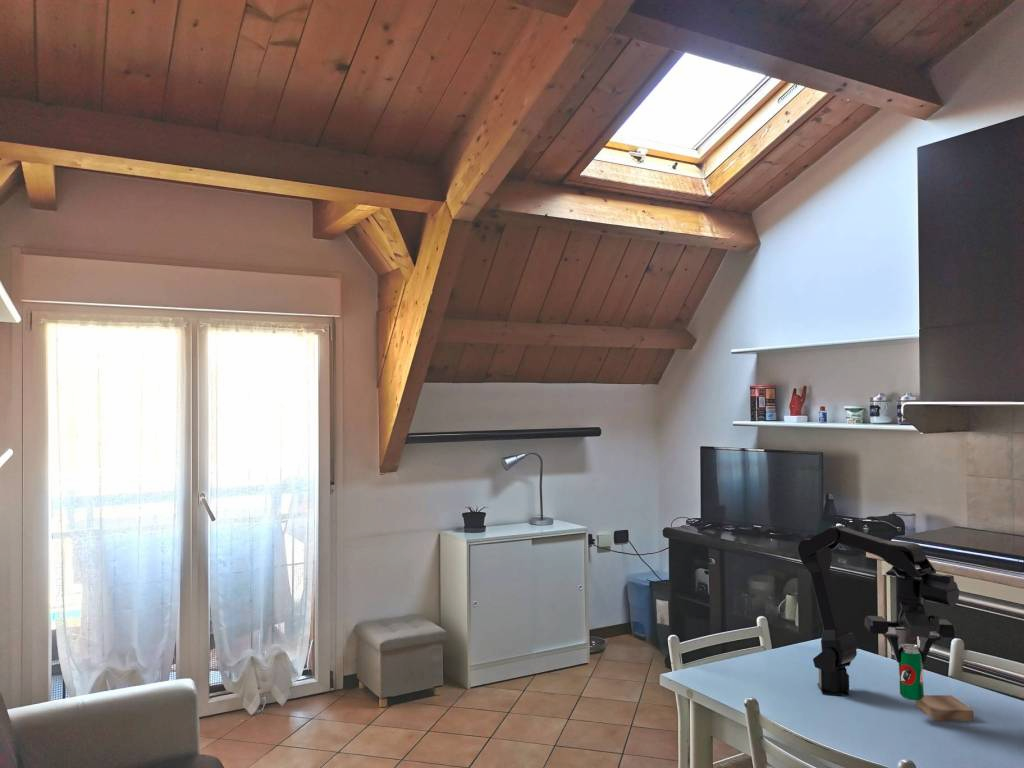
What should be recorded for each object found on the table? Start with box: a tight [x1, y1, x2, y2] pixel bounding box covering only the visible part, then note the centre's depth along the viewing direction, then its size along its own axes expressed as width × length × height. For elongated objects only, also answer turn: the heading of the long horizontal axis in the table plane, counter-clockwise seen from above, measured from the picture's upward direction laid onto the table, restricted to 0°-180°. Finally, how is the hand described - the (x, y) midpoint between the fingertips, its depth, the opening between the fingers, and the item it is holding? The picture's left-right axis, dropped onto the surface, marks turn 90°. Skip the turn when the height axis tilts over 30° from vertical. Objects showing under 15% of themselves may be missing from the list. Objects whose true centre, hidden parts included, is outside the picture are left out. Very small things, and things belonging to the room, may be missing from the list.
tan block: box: [914, 694, 975, 722], centre depth 180 cm, size 9×9×2 cm
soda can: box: [898, 643, 925, 701], centre depth 178 cm, size 5×5×12 cm
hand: (910, 662), depth 178 cm, fingers closed on soda can, 5 cm apart
